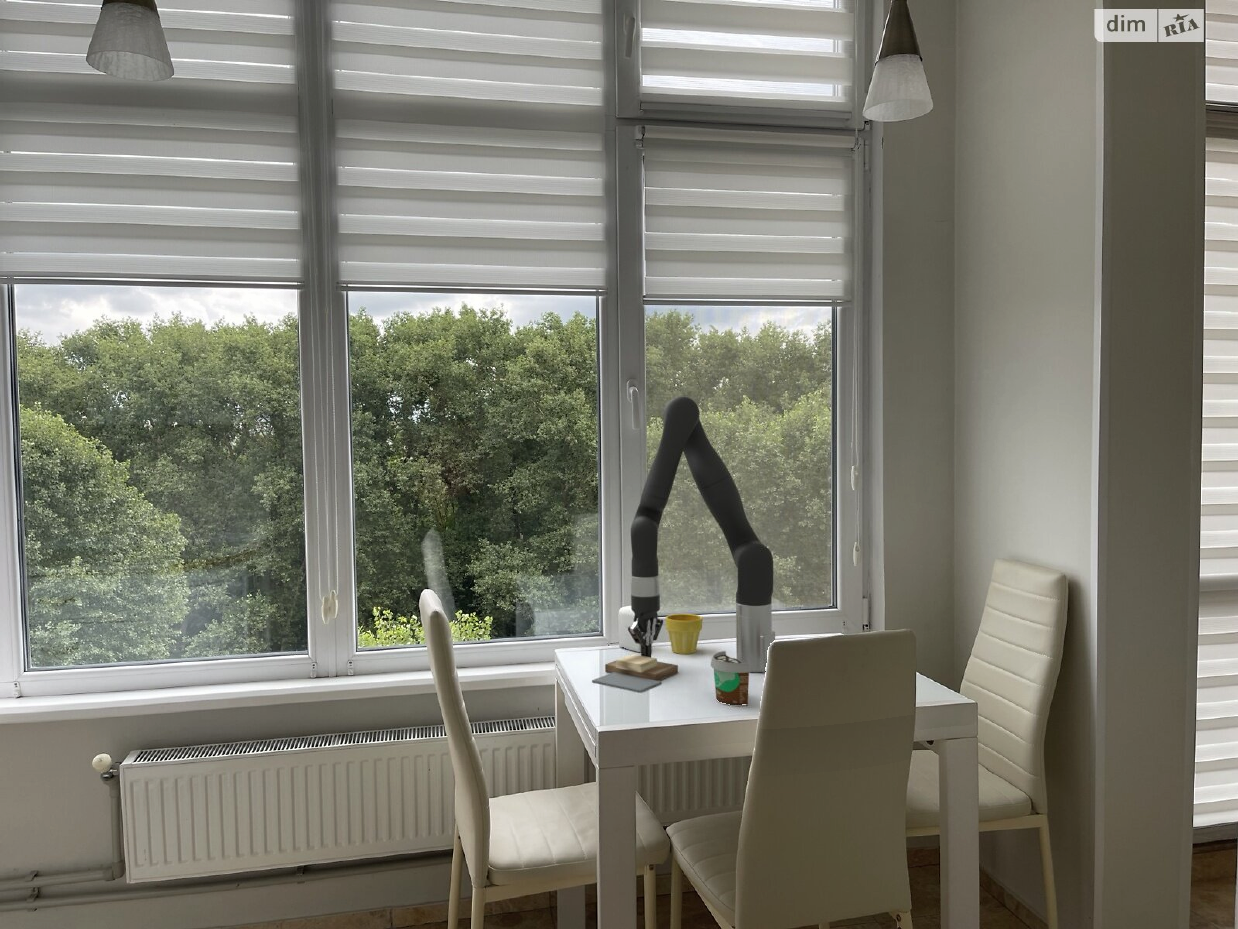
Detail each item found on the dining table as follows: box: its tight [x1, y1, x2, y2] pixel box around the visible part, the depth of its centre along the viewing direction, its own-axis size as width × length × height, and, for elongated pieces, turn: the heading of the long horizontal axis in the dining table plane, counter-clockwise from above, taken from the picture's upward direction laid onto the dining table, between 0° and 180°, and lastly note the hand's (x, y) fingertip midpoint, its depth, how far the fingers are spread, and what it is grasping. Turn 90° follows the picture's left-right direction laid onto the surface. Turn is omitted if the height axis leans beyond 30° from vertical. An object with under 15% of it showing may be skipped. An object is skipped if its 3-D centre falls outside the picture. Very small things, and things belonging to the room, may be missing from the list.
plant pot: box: [665, 613, 703, 655], centre depth 243 cm, size 10×10×10 cm
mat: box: [591, 672, 663, 694], centre depth 213 cm, size 15×9×1 cm, turn 52°
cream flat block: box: [615, 653, 658, 672], centre depth 220 cm, size 8×7×2 cm
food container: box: [710, 650, 752, 706], centre depth 197 cm, size 12×6×10 cm, turn 21°
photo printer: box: [617, 605, 641, 653], centre depth 246 cm, size 10×4×12 cm, turn 39°
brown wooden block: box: [604, 660, 679, 681], centre depth 222 cm, size 16×10×2 cm, turn 52°
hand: (646, 658), depth 224 cm, fingers closed
